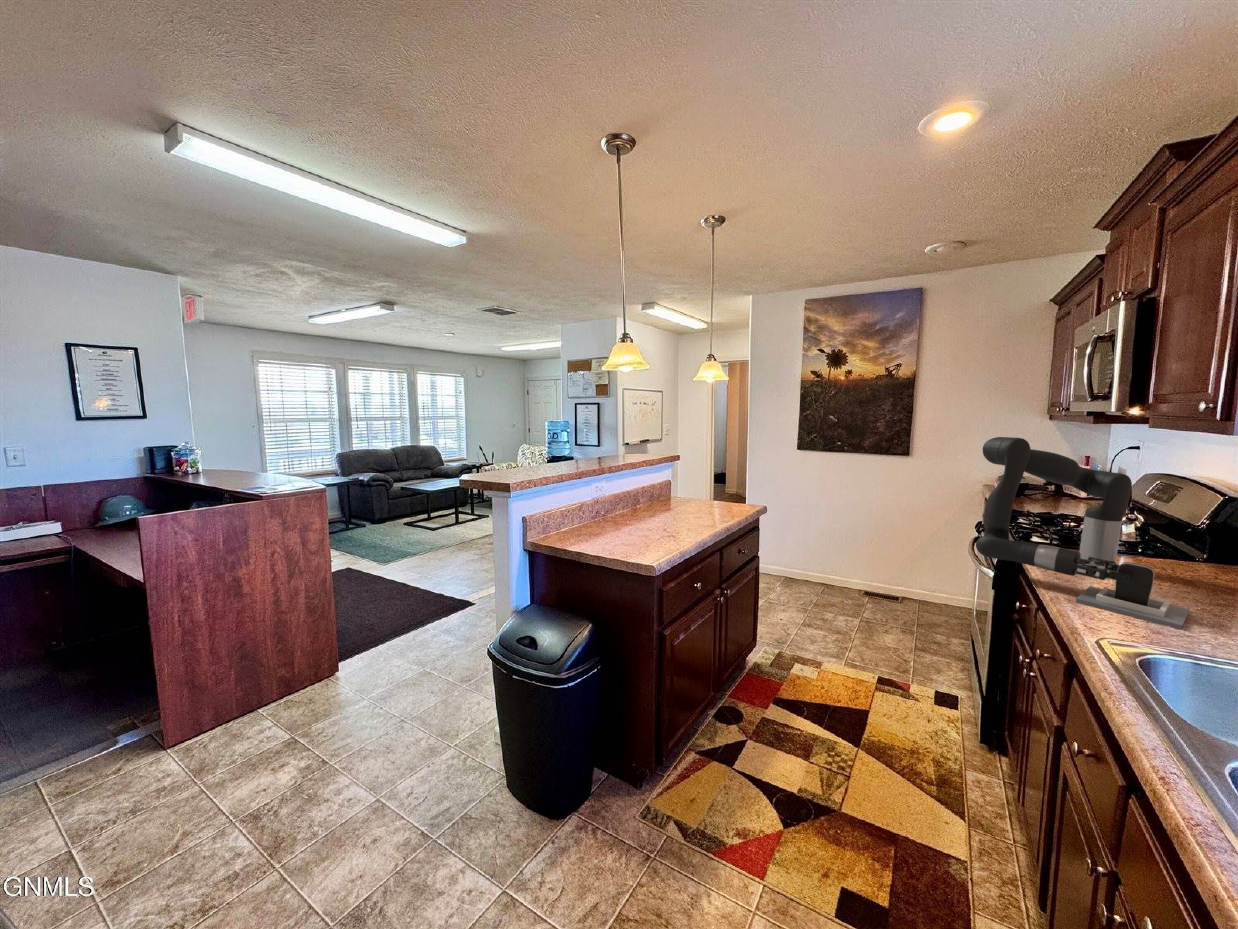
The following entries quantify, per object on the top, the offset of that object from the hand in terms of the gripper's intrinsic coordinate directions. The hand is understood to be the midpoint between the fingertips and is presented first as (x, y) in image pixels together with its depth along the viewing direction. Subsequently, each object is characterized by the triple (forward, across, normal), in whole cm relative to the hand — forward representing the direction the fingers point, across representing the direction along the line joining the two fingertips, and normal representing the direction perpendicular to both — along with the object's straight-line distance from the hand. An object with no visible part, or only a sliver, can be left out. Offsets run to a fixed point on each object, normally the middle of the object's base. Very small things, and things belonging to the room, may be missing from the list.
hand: (1133, 575), depth 135 cm
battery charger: (0, 0, +8) cm, 8 cm away
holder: (+1, 0, +9) cm, 9 cm away
